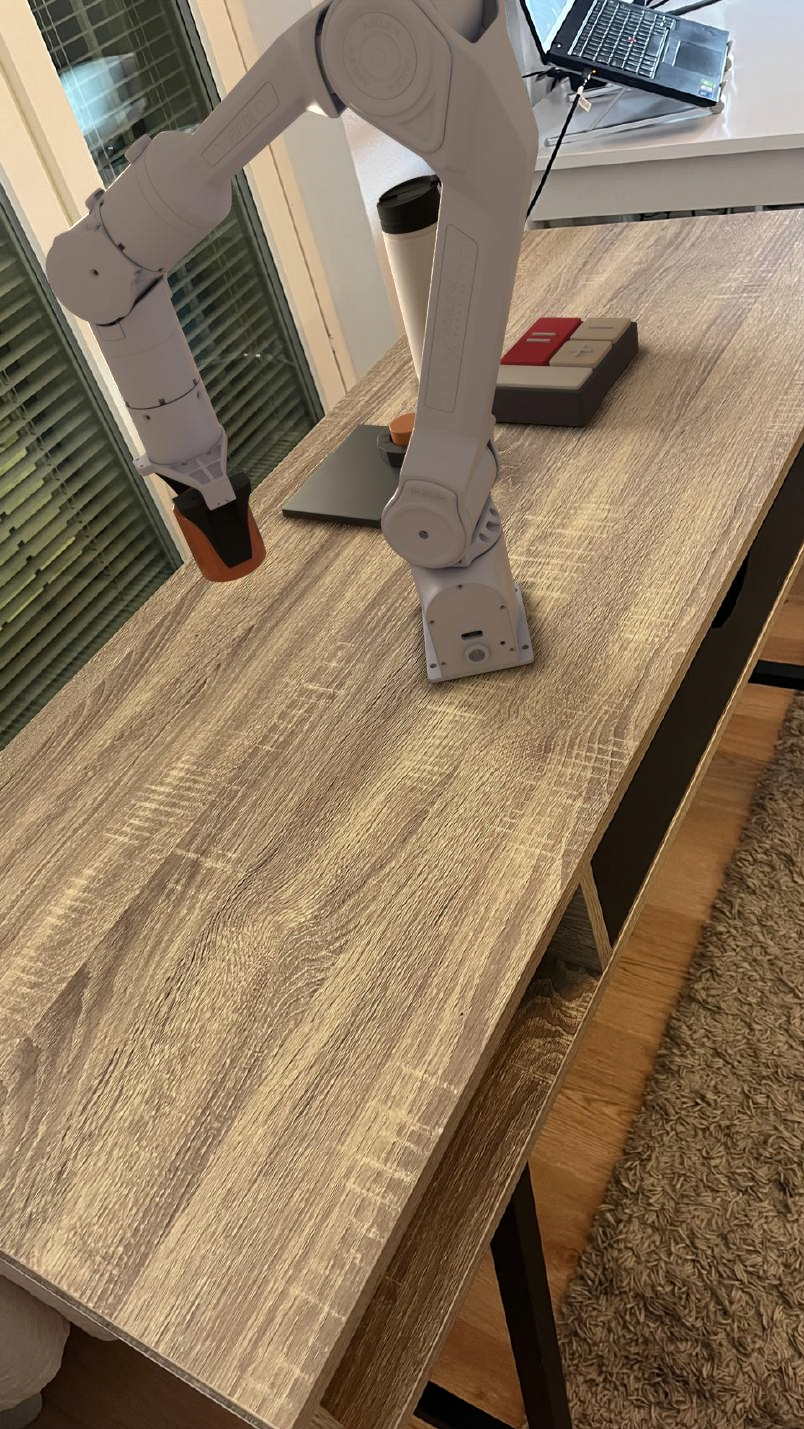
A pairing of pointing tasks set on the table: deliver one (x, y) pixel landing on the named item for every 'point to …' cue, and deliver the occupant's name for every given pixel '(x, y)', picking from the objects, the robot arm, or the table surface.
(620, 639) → the table surface
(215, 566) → the cup
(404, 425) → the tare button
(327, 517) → the scale
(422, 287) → the travel mug
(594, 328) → the calculator
